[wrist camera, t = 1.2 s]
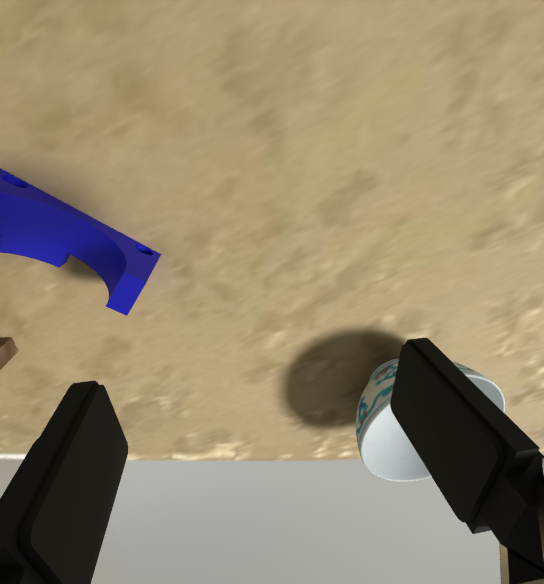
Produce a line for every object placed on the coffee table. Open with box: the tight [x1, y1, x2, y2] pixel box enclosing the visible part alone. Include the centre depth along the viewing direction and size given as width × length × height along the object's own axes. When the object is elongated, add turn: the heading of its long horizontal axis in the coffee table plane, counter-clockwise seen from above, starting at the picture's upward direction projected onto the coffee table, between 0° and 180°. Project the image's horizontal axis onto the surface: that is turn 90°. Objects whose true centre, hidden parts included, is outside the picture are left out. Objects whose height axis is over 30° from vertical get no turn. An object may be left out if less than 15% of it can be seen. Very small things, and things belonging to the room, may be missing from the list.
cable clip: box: [0, 168, 161, 315], centre depth 22 cm, size 12×4×6 cm, turn 55°
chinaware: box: [356, 358, 505, 481], centre depth 33 cm, size 15×15×8 cm
